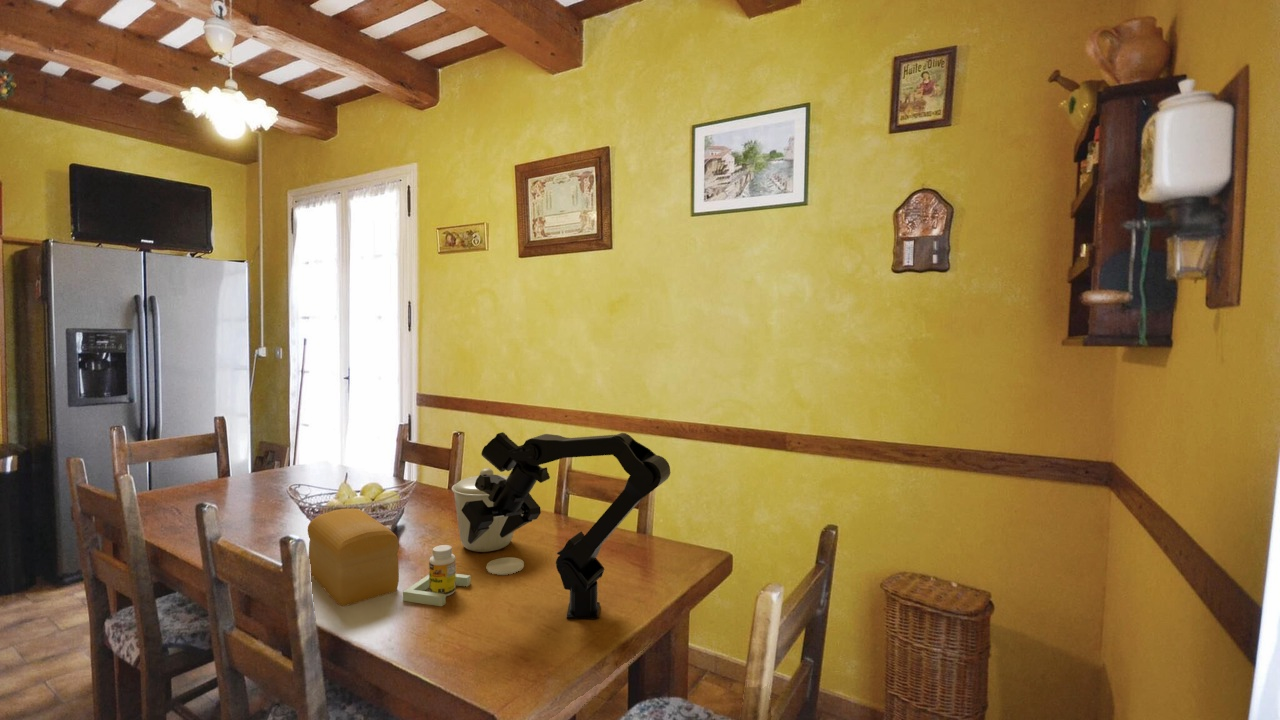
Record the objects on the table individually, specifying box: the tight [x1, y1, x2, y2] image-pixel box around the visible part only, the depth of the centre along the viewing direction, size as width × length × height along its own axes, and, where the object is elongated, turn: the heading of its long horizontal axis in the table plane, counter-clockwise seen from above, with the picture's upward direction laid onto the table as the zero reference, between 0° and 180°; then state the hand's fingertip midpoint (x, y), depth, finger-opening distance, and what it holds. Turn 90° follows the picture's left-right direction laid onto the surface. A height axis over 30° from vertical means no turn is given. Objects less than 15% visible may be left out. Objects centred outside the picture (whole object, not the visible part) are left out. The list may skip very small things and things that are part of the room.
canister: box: [451, 467, 515, 553], centre depth 162 cm, size 18×18×21 cm
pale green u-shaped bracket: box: [402, 573, 472, 607], centre depth 134 cm, size 10×12×2 cm
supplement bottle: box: [428, 544, 457, 597], centre depth 133 cm, size 6×6×10 cm
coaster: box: [486, 556, 525, 576], centre depth 148 cm, size 9×9×1 cm
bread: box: [307, 508, 400, 607], centre depth 139 cm, size 24×13×15 cm, turn 43°
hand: (485, 539), depth 133 cm, fingers open, 9 cm apart
